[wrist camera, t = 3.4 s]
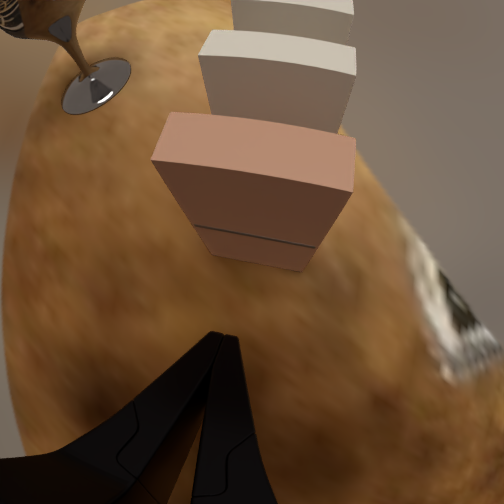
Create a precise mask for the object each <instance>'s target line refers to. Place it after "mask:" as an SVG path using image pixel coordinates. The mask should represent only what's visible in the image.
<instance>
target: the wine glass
mask: <svg viewBox="0 0 504 504" xmlns="http://www.w3.org/2000/svg"><path fill="white" fill-rule="evenodd" d="M85 1H86V0H0V29H2V30H3V31H5V32H6V33H7V34H9V35H11V36H13V37H16V38H21V39H35V40H47V41H51V42H55V43H57V44H59V45H60V46H62V47H63V48H64V49H65V50H66V51H67V52H68V53H69V55H70V56H71V57H72V58H73V59H74V61H75V62H76V63H77V65H78V66H79V68H80V70H81V72H80V73H79V74H77V75H76V76H75V77H74V78H73V79H72V80H71V82H70V83H69V84H68V86H67V87H66V89H65V91H64V93H63V96H62V100H61V105H62V108H63V110H64V111H65V112H66V113H68V114H73V115H76V114H83V113H87V112H89V111H92V110H94V109H96V108H98V107H100V106H101V105H103V104H105V103H106V102H107V101H109V100H110V99H112V98H113V97H114V96H115V95H116V94H117V93H118V92H119V91H120V90H121V89H122V88H123V86H124V85H125V84H126V82H127V80H128V79H129V76H130V74H131V65H130V64H129V62H128V61H127V60H125V59H123V58H118V57H113V58H107V59H103V60H100V61H98V62H96V63H94V64H91V65H90V66H89V65H88V63H87V62H86V60H85V58H84V56H83V54H82V51H81V49H80V46H79V43H78V40H77V36H76V28H77V22H78V18H79V16H80V13H81V10H82V8H83V5H84V3H85Z"/></svg>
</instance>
